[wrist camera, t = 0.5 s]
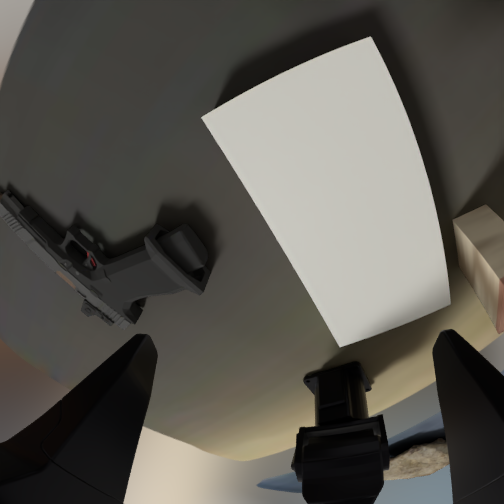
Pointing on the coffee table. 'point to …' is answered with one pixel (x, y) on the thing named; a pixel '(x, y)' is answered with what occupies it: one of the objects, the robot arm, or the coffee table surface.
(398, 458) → the fossil
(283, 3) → the coffee table surface
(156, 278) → the handgun
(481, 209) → the brown and pink block
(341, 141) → the panel
